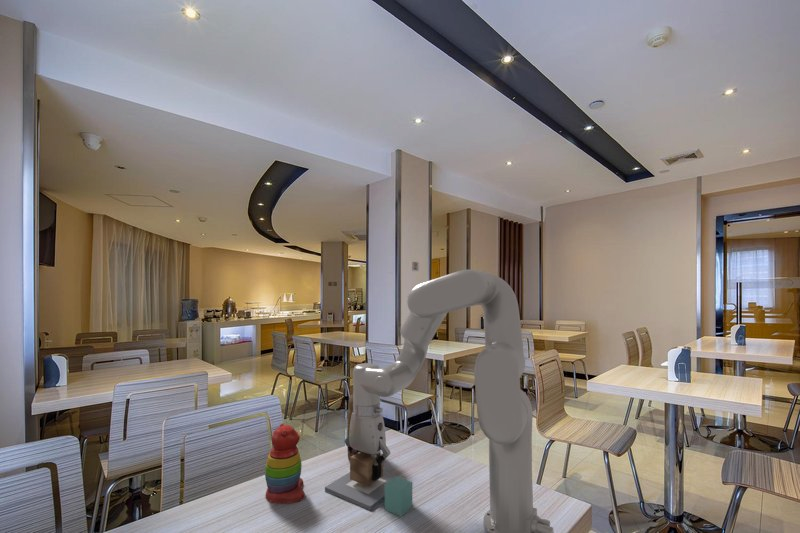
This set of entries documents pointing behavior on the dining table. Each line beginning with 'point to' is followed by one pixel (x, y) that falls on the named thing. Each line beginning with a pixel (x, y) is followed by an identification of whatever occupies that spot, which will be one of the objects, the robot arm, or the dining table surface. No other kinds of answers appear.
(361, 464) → the walnut cube
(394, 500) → the teal block
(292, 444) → the stacking bear
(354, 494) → the plate
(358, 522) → the dining table surface
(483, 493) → the dining table surface
